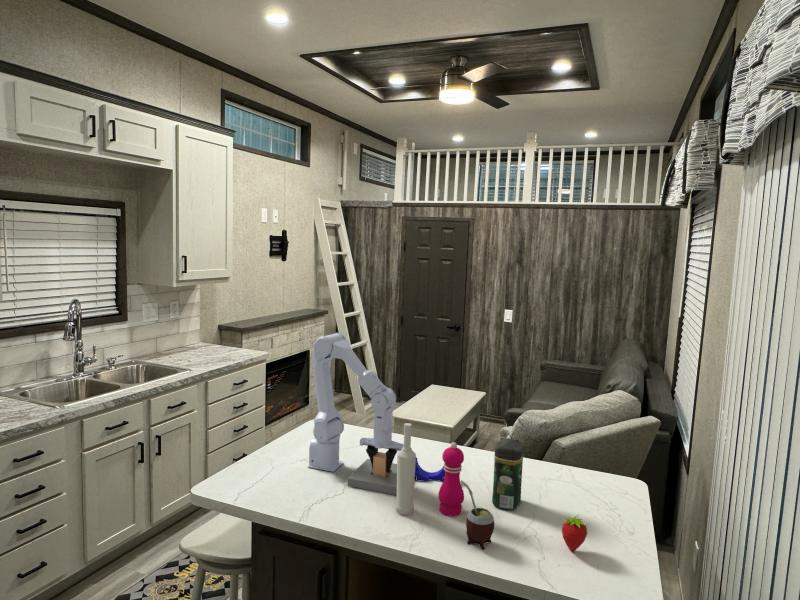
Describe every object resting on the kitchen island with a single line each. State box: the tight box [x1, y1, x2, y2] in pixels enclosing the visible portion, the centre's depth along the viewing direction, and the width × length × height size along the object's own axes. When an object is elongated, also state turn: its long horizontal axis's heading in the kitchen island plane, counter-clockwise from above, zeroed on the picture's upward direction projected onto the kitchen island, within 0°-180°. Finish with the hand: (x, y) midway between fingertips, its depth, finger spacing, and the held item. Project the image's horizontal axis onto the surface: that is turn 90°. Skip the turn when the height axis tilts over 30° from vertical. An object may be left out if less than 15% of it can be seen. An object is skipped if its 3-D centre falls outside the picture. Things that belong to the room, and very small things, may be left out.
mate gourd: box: [460, 479, 495, 550], centre depth 136 cm, size 8×8×15 cm
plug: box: [373, 451, 389, 477], centre depth 169 cm, size 4×4×7 cm
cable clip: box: [415, 457, 445, 482], centre depth 172 cm, size 12×4×6 cm, turn 80°
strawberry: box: [561, 513, 588, 553], centre depth 134 cm, size 6×8×10 cm
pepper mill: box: [437, 441, 465, 517], centre depth 151 cm, size 7×7×20 cm
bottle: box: [394, 422, 417, 516], centre depth 150 cm, size 5×5×25 cm
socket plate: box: [346, 458, 397, 496], centre depth 170 cm, size 16×16×2 cm
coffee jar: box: [491, 437, 525, 511], centre depth 157 cm, size 10×8×19 cm
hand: (381, 470), depth 170 cm, fingers closed on plug, 4 cm apart
